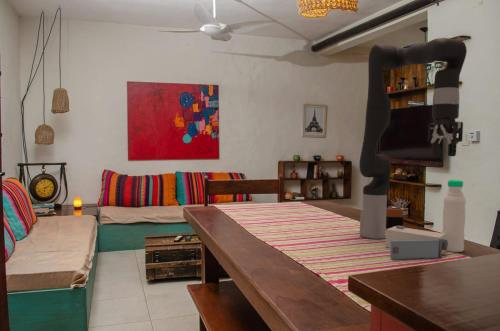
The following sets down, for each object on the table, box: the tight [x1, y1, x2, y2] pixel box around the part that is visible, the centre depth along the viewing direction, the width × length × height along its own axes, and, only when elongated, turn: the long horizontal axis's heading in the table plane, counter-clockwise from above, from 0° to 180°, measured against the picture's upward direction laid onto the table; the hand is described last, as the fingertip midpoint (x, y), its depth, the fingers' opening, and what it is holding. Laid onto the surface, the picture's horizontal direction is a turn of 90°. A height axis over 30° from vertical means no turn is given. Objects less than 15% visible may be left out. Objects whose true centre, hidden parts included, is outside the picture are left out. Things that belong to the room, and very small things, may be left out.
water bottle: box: [441, 179, 467, 253], centre depth 142 cm, size 7×7×25 cm
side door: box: [389, 239, 443, 260], centre depth 131 cm, size 18×1×6 cm, turn 99°
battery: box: [386, 205, 405, 229], centre depth 178 cm, size 4×7×10 cm, turn 87°
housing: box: [385, 225, 448, 255], centre depth 142 cm, size 19×8×7 cm, turn 49°
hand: (443, 155), depth 127 cm, fingers open, 7 cm apart
